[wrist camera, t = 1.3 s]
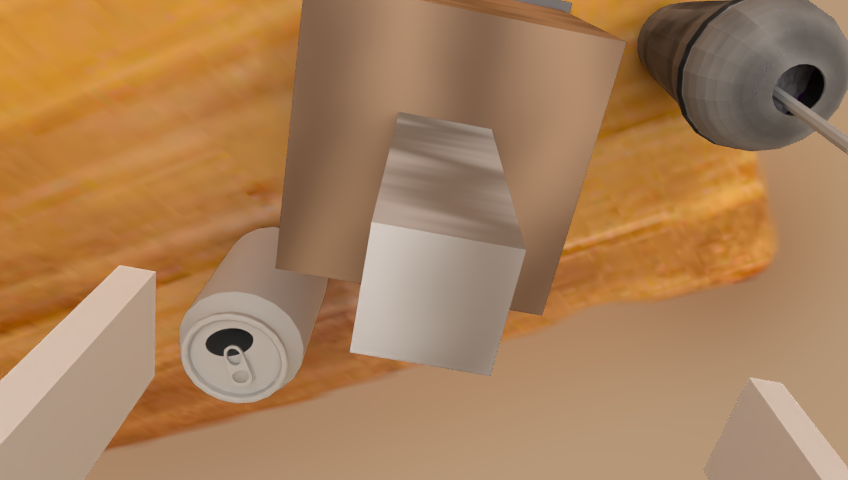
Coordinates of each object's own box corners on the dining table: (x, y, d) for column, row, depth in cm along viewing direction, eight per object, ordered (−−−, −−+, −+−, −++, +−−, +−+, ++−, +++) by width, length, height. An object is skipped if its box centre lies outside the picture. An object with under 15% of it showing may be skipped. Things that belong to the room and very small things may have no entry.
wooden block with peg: (326, 169, 44) (182, 449, 19) (352, -33, 39) (199, -1, 14) (510, 203, 45) (597, 515, 20) (561, 9, 39) (765, 111, 15)
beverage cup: (746, -18, 39) (1017, 12, 21) (717, 102, 42) (931, 220, 24) (626, -25, 39) (792, -2, 21) (606, 95, 42) (735, 208, 24)
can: (309, 210, 46) (268, 292, 35) (344, 298, 49) (316, 400, 38) (213, 236, 47) (144, 323, 36) (253, 321, 50) (200, 426, 39)
